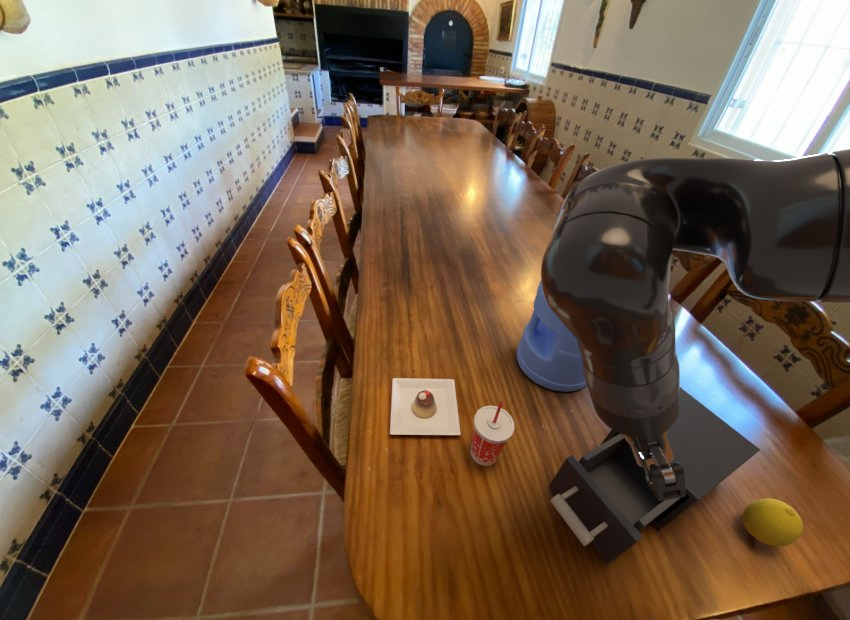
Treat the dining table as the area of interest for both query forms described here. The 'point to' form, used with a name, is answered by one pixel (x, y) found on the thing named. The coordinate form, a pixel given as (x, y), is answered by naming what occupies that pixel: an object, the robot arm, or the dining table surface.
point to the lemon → (772, 522)
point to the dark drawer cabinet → (701, 453)
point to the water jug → (550, 350)
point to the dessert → (424, 407)
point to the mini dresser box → (606, 498)
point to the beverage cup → (490, 433)
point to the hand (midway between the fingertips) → (641, 449)
